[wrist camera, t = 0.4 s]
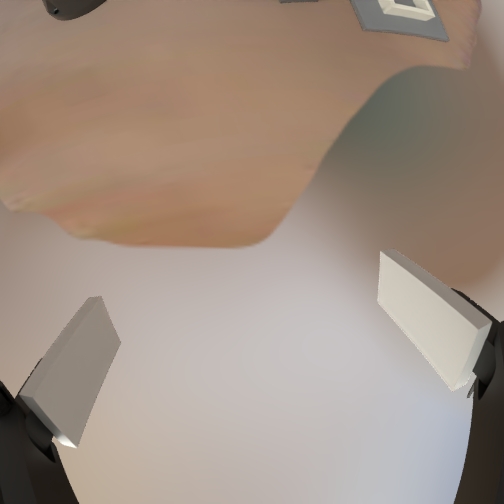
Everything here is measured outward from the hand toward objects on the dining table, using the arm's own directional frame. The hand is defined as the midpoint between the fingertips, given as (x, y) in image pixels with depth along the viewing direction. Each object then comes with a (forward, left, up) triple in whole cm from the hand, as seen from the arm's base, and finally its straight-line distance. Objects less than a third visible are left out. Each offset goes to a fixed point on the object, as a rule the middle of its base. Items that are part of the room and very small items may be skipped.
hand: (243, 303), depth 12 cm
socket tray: (-33, +36, -27) cm, 56 cm away
